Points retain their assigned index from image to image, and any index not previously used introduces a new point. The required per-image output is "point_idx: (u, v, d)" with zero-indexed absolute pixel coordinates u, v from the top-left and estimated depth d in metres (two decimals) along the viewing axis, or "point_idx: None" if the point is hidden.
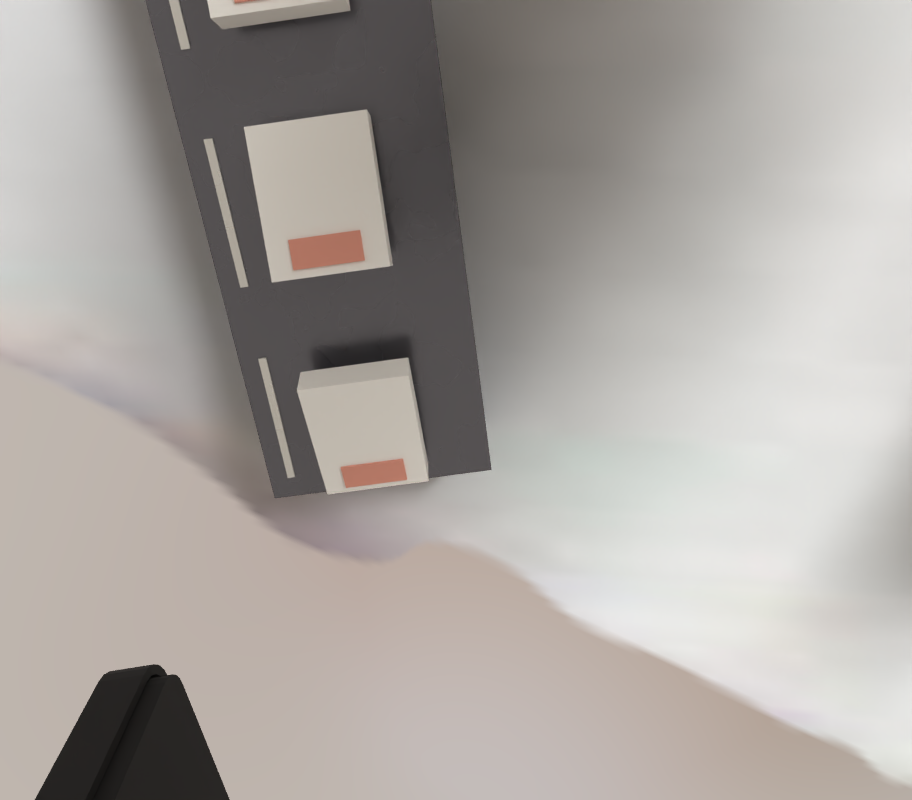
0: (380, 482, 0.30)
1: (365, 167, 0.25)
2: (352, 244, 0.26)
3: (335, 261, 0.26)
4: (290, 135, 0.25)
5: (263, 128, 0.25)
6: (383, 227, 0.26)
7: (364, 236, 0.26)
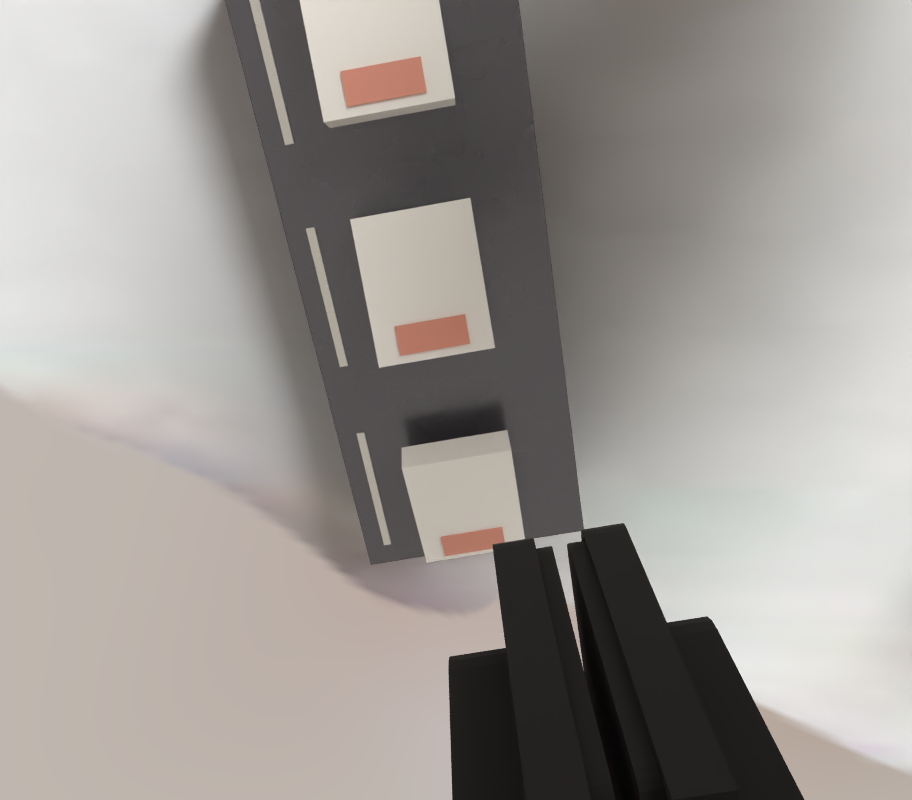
0: (479, 549, 0.30)
1: (469, 253, 0.26)
2: (458, 328, 0.26)
3: (441, 345, 0.26)
4: (395, 225, 0.25)
5: (369, 219, 0.25)
6: (487, 310, 0.26)
7: (469, 320, 0.26)
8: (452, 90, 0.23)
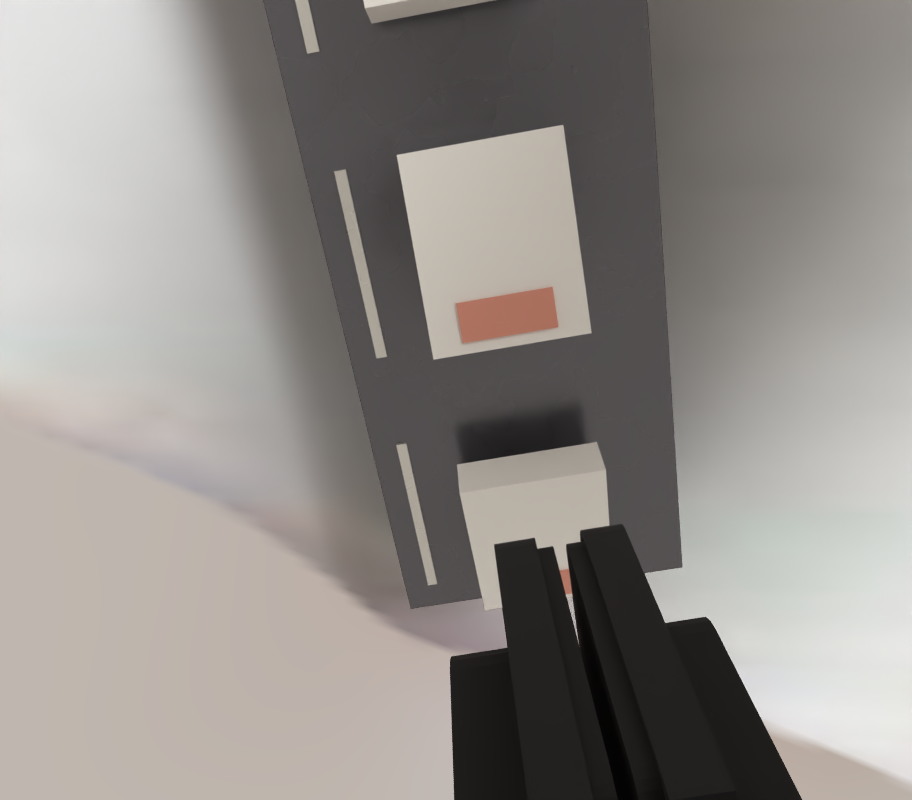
0: None
1: (560, 203, 0.19)
2: (542, 306, 0.19)
3: (519, 329, 0.19)
4: (460, 164, 0.18)
5: (423, 155, 0.18)
6: (583, 282, 0.19)
7: (558, 295, 0.19)
8: None
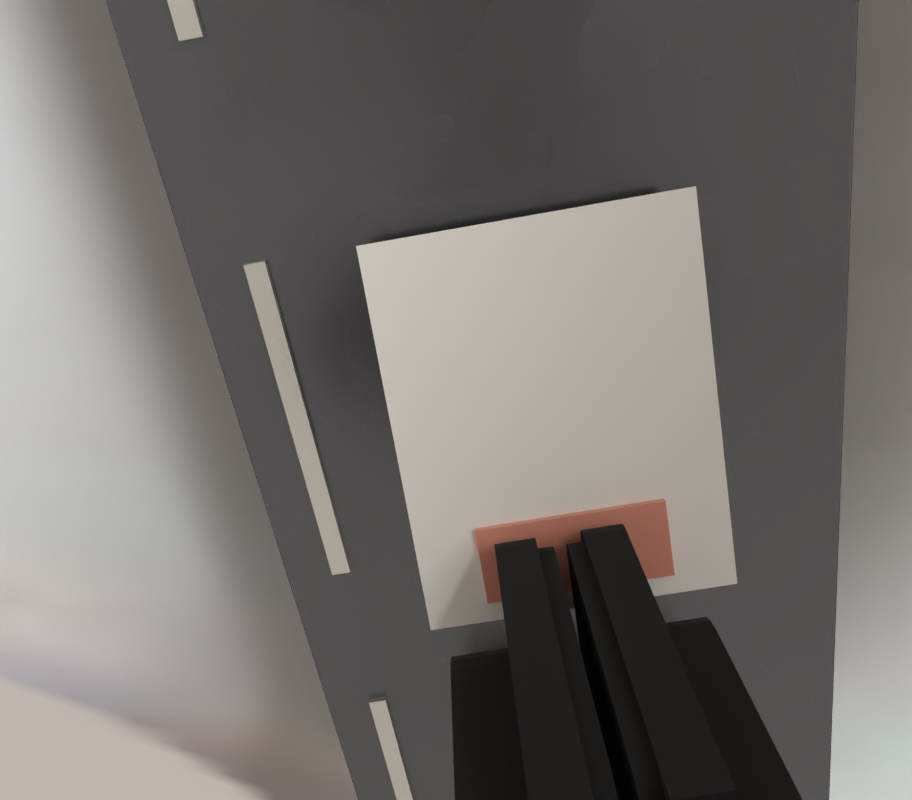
0: None
1: (685, 340, 0.09)
2: (644, 536, 0.10)
3: None
4: (483, 264, 0.09)
5: (409, 248, 0.09)
6: (725, 490, 0.10)
7: (675, 515, 0.10)
8: None
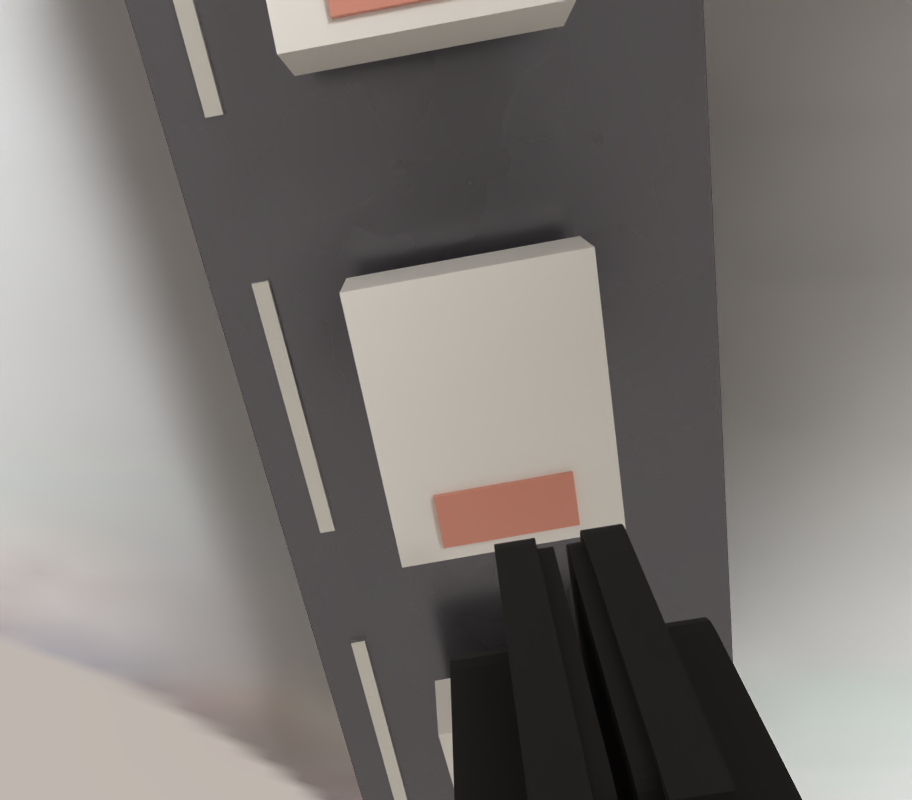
0: None
1: (587, 358, 0.12)
2: (557, 498, 0.13)
3: (524, 529, 0.13)
4: (436, 305, 0.12)
5: (380, 293, 0.12)
6: (616, 464, 0.13)
7: (580, 482, 0.13)
8: None
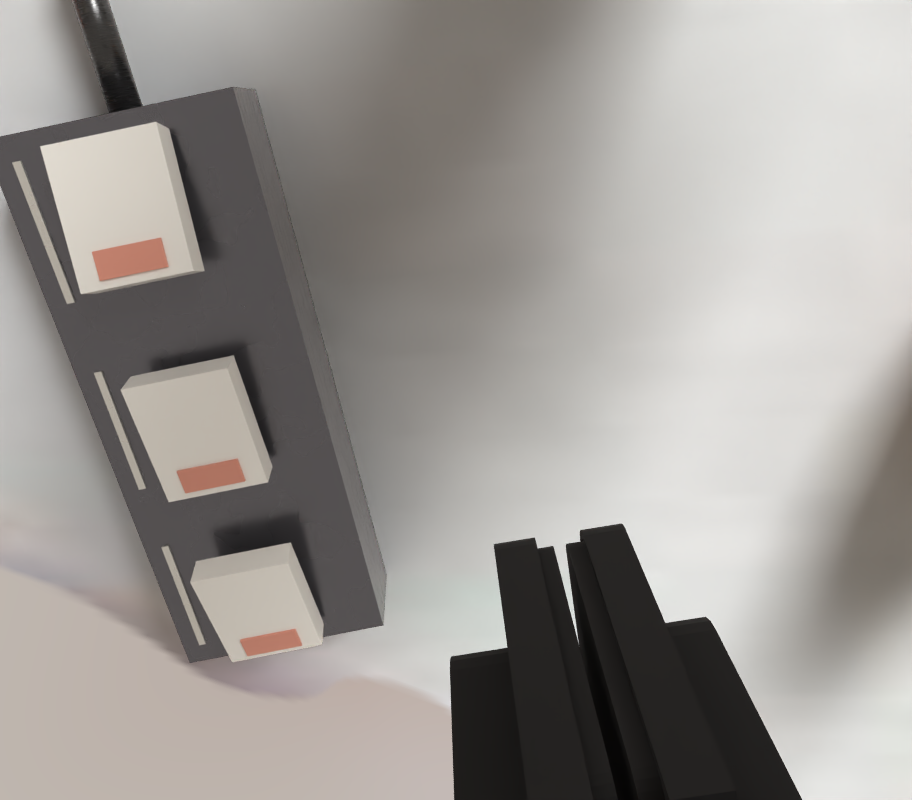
0: (278, 649, 0.33)
1: (234, 412, 0.29)
2: (232, 470, 0.30)
3: (219, 484, 0.30)
4: (163, 393, 0.28)
5: (138, 389, 0.28)
6: (257, 454, 0.30)
7: (242, 463, 0.30)
8: (190, 264, 0.27)
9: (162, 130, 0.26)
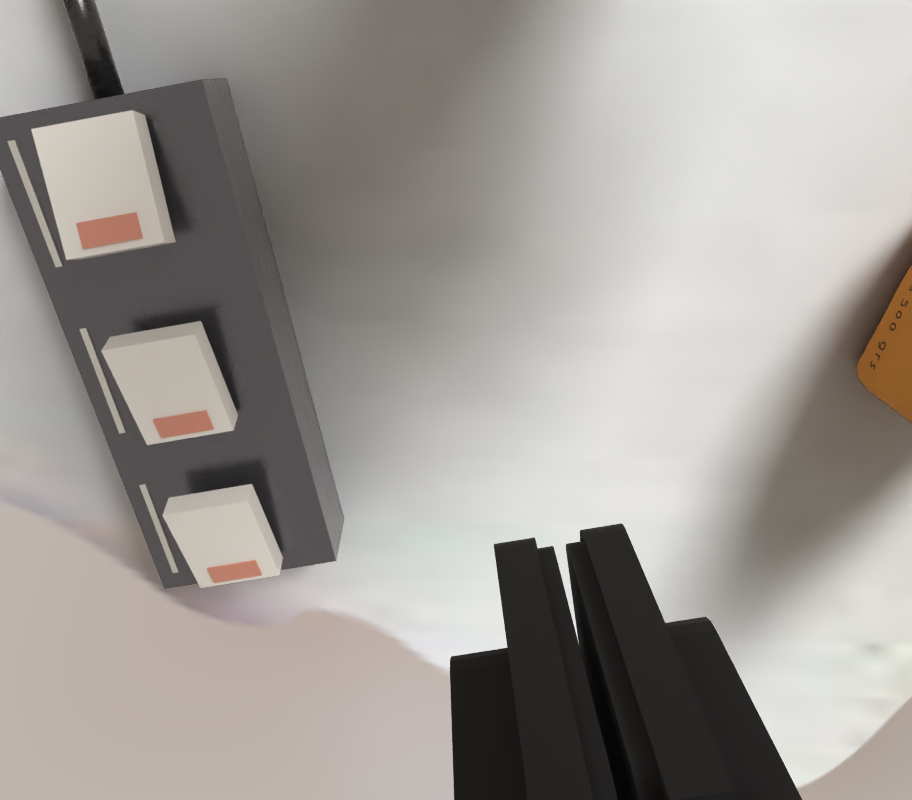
0: (241, 578, 0.38)
1: (201, 371, 0.33)
2: (202, 420, 0.34)
3: (191, 431, 0.34)
4: (139, 354, 0.32)
5: (116, 350, 0.32)
6: (223, 407, 0.34)
7: (210, 414, 0.34)
8: (162, 236, 0.30)
9: (138, 117, 0.30)
